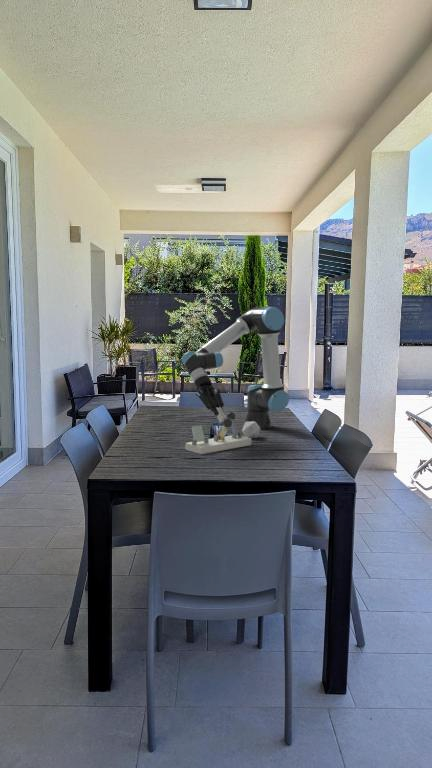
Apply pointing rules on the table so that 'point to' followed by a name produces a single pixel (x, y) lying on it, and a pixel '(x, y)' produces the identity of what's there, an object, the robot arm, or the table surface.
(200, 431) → the sage paddle
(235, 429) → the grey lever
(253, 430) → the die
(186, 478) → the table surface
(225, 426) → the brass lever
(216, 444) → the panel
